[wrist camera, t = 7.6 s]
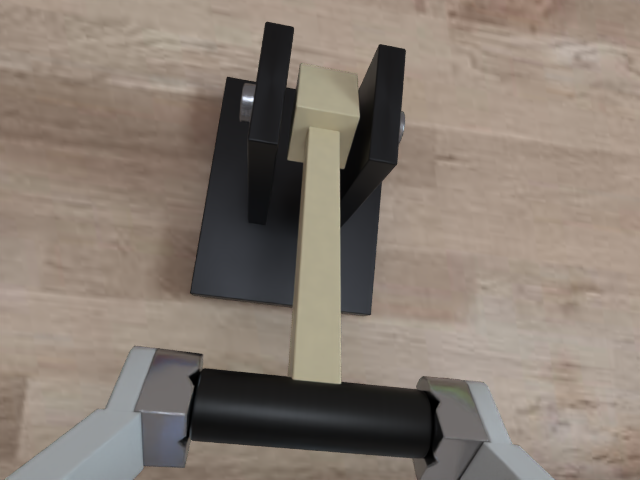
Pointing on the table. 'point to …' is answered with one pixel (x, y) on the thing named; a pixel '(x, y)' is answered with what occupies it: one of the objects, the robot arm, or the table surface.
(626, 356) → the table surface
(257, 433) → the lever
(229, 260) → the bracket
